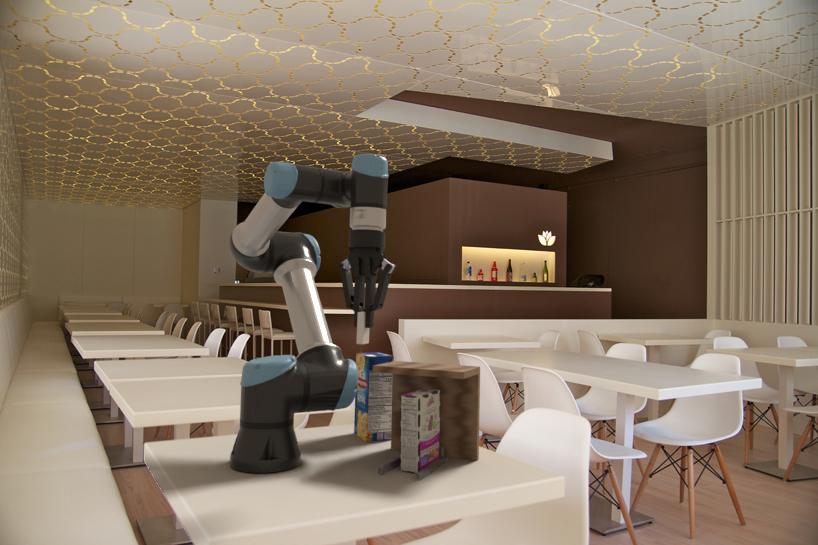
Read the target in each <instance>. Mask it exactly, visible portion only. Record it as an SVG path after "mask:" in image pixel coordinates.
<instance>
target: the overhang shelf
mask: <svg viewBox="0 0 818 545" xmlns="http://www.w3.org/2000/svg"><path fill="white" fill-rule="evenodd" d="M373 372H379V373H392V374H393V382H392V423H391V440H390V449H391V450H395V451H401V395H404V394H407V393H410V392H413V391H416V390H420V389H424V388H427V389H436V390H440V457H439V458H438V459H436V460H435V461H433V462H432V463H430V464H429V465H427V466H426V467H425V468H423V469H422V470H420V471H419V472H417V473H415V481H421V480H422V479H425V477H427V476H428V475H430V474H431V473H432V472H434V471H435V470H437V468H439V467H440V466H441V465H443V464H444V463H446V458H452V459H460V460H469V461H475V462H477V461H478V460H479V459H480V458H479V457H480V455H479V454H480V401H481V400H480V398H481V396H480V395H481V392H480V391H481V366H476V365H475V366H473V365H463V364H462V365H461V364H459V365H458V364H446V363H433V362H432V363H431V362H417V361H415V362H414V361H402V360H393V362H388V363H383V364H378V365H373ZM399 465H400V455H398V456H396V457H395V458H392V459H391V460H389V461H387V462H386V463H384V464H382V465H380V466H378V468H377V474H378V475H384V474H385V473H387V472H389V471H390V470H392V469H393V468H395V467H397V466H399Z"/></svg>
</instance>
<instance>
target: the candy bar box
mask: <svg viewBox="0 0 818 545" xmlns="http://www.w3.org/2000/svg"><path fill="white" fill-rule="evenodd" d="M399 453H400V454H399V456H400V464H399V466H400V469H399V470H400V472H405V473H412V474H416V473H417V472H419V471H420V470H422V469H423V468H425V467H426V466H427V465H429V464H430V463H432V462H433V461H435V460H436V459H438V458H439V457H440V390H436V389H427V388H424V389H420V390H416V391H413V392H410V393H407V394H404V395H401V450H400V452H399Z"/></svg>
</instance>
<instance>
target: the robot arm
mask: <svg viewBox="0 0 818 545" xmlns="http://www.w3.org/2000/svg"><path fill="white" fill-rule="evenodd" d="M388 166H389V163H388V159H387V158H386V157H384V156H383V155H379V154H373V153H360V154H356V155H355V156H354V157H353V158H352V164H351V170H349V171H344V170H343V171H341V170H336V169H329V168H322V167H316V166H309V165H303V164H297V163H292V162H289V161H287V162H282V161H271V162H270V163H269V164H268V165H267V167H266V170H265V173H264V177H263V189H264V194H263V195H262V196H261V198H260V199H259V201H258V202H257V203H256V205H255V206H254V207H253V209H252V210H251V212H250V213H249V214H248V216H247V218H245V220H244V221H243V222H240V223H238V224H237V225H236V226H235V227H234V228H233V230H232V232H231V233H230V236H229V240H228V247H229V250H230V254H231V255H232V257H233V259H234V260H235V262H236V263H237V264H238V265H240V266H241V267H243V268H244V269H245V270H248V271H250V272H254V273H260V274H262V273H264V274H272V275H273V280H274V282H276V284H277V285H278V286H280V287H281V288H282V291H283V296H284V299H285V303H286V308H287V312H288V315H289V319H290V324H291V328H292V333H293V336H294V339H295V340H294V341H295V344H296V349H297V352H298V355H297V356H295V355H294V354H293V355H292V354H281V355H278V354H277V355H269V356H263V357H258V358H254V359H251V360H249V361H247V362H245V363H244V365H243V367H242V371H241V380H240V407H239V408H240V410H239V429H238V432H237V435H236V437H235V441H234V443H233V445H232V446H233V447H232V450H231V452H230V455H229V456H230V457H229V467H230V468H231V469H233V470H235V471H238V472H243V473H250V474H252V473H253V474H268V473H279V472H284V471H287V470H290V469H291V470H292V469H293V468H297V467H298V466H299V465H300V464H301V458H302V457H301V455H302V454H301V453H302V452H301V449H300V446H299V442H298V438H297V434H296V432H295V427H294V425H295V424H294V422H295V414H298V413H300V414H301V413H311V412H313V413H314V412H315V413H316V412H327V411H332V412H333V411H336V410H342V409H347V408H349V407H350V406H351V405H352V403H353V402H354V401H355V396H356V393H357V387H358V370H357V366H356V361H354V360H353V359H350V358H344V356H343V351H342V349H341V348H340V346H338V345H336V344H334V343H333V340H332V336H331V333H330V329H329V326H328V323H327V320H326V315H325V313H324V309H323V304H322V302H321V300H320V296H319V292H318V288H317V284H316V283H315V277H316V275H317V272H318V271H319V269H320V266H321V261H322V260H321V258H322V257H321V256H320V254H321V249H320V246H319V243H318V241H317V239H315V237H314V236H313V235H311V234H307V233H302V232H297V231H296V232H288V231H279V229H280V228H281V227H282V226H283V225H284V224H285V222H286V221H287V220H288V219H289V217H290V216H291V215H292V213H294V212H295V210H296V209H297V207H299V205H301V203H302V202H308V203H315V204H324V205H331V206H333V207H335V208H338V209H339V208H340V209H348V208H350V210H349V212H350V213H349V227H350V229H351V230H349V232H348V249H349V251H348V254H347V255H346V259H344V260H342V261H341V262H337V263H336V267H337V269H338V271H339V274H340V278H341V283H342V291H343V298H344V303H345V307H346V308H347V309H351V310H352V311H353V314H354V315H353V326H354V328H356V340H355V341H356V344H355V345H367V344H369V343H370V328H373V326H374V316H375V312H376V311H380V310H382V309H384V308H383V307H384V305H385V300H386V296H387V292H388V289H389V285H390V282H391V277H392V275H393V273H395V272H394V271H395V270H396V269H397V266H396V264H394V263H391V262H390V261H388V260H387V256H386V254H385V248H386V233H385V231H384V230H385V229H386V227H387V205H388V204H387V203H388V202H387V201H388V187H389V186H388V184H389V167H388ZM351 268H352V270H353V274H352V272H351ZM380 269H381V270H382V271H381V272H380V275H379V279H378V272H379V270H380ZM352 275H353V277H352ZM353 279H354V282H353ZM377 279H378V284H377Z"/></svg>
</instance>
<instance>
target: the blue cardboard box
mask: <svg viewBox="0 0 818 545" xmlns="http://www.w3.org/2000/svg"><path fill="white" fill-rule="evenodd" d="M355 354H356V356H355V360H356V361H355V363H356V366H357V370H358V387H357V393H356V396H355V398H354V421H353V422H354V428H353V433H354V434H355V435H356V436H357V437H359V438H360V439H361V440H363V441H364V442H366V443H371V442H373V443H374V442H387V441H388V442H389V441H391V423H392V382H393V374H392V373H379V372H373V365H378V364H383V363H388V362H393V361H394V355H392V354H387V353H383V352H380V351H379V352H378V351H377V352H356V353H355Z"/></svg>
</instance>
